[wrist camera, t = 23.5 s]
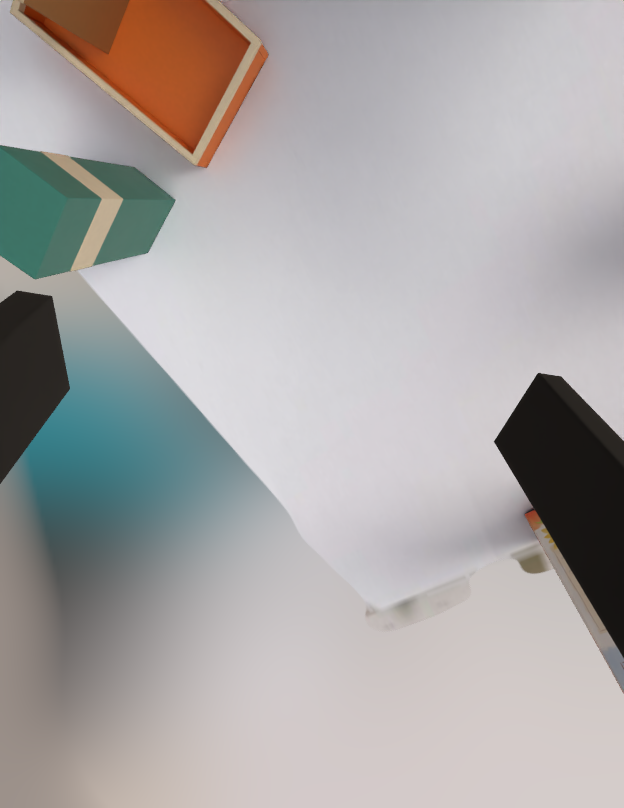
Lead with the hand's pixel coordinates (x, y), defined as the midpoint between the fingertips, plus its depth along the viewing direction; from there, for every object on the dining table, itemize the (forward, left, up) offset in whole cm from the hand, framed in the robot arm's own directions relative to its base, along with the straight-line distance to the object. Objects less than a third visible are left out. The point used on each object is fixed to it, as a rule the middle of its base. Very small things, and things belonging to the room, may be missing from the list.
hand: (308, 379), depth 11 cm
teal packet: (+9, -18, -31) cm, 37 cm away
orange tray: (-3, -23, -31) cm, 38 cm away
